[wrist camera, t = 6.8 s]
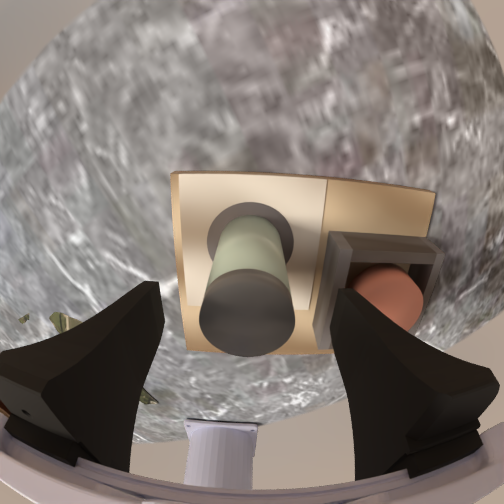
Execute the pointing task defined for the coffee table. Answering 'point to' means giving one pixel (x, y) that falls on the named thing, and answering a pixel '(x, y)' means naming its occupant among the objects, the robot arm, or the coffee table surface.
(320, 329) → the wooden base tray
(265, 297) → the green capped bottle
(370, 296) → the button
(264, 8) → the coffee table surface
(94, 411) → the robot arm
